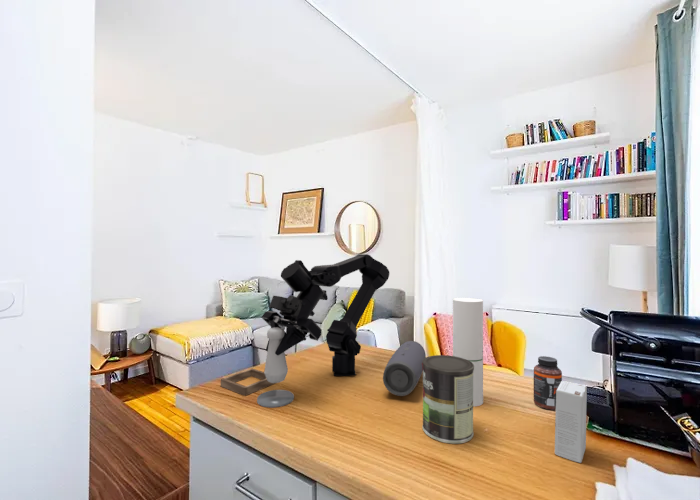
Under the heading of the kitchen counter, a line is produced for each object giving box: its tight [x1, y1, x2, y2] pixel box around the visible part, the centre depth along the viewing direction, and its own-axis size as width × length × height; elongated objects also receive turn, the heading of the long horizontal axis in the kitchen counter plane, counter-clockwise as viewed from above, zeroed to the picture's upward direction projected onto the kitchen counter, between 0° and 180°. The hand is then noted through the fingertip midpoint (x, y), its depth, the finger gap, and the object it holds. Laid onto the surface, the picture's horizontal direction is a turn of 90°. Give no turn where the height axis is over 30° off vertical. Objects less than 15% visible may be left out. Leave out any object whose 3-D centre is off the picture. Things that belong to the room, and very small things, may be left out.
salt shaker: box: [263, 327, 289, 384], centre depth 86 cm, size 6×6×13 cm
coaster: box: [256, 389, 295, 408], centre depth 85 cm, size 9×9×1 cm
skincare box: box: [554, 380, 588, 464], centre depth 63 cm, size 6×4×12 cm
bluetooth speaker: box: [382, 340, 427, 397], centre depth 95 cm, size 23×9×10 cm, turn 161°
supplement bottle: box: [533, 355, 563, 411], centre depth 82 cm, size 6×6×11 cm
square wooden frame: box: [220, 368, 276, 397], centre depth 95 cm, size 11×11×2 cm
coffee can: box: [422, 354, 474, 445], centre depth 71 cm, size 10×10×14 cm
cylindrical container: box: [452, 297, 484, 407], centre depth 85 cm, size 7×7×25 cm
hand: (271, 352), depth 85 cm, fingers closed on salt shaker, 3 cm apart
